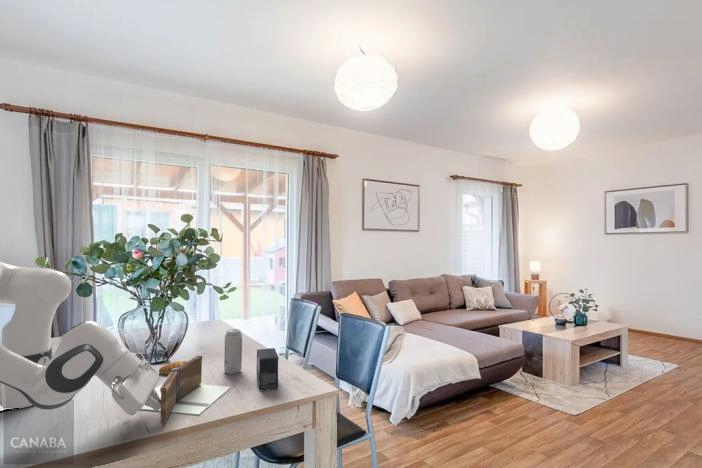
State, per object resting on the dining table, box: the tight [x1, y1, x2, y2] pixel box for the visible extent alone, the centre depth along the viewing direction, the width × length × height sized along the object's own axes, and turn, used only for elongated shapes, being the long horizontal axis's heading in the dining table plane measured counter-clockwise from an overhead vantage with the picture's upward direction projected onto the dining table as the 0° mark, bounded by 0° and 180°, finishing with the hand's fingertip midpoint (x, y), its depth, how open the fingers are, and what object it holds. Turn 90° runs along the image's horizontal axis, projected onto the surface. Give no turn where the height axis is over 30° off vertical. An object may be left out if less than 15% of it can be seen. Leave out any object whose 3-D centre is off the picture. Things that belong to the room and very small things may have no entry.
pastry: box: [158, 360, 187, 376], centre depth 135 cm, size 9×7×4 cm
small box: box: [256, 347, 279, 391], centre depth 126 cm, size 11×6×10 cm, turn 19°
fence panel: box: [159, 371, 177, 424], centre depth 103 cm, size 2×12×9 cm, turn 13°
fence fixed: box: [171, 355, 203, 403], centre depth 116 cm, size 2×14×10 cm, turn 171°
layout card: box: [139, 383, 232, 416], centre depth 114 cm, size 23×19×1 cm
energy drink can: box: [223, 328, 243, 375], centre depth 136 cm, size 6×6×15 cm
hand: (160, 407), depth 99 cm, fingers closed, pressing on fence panel
